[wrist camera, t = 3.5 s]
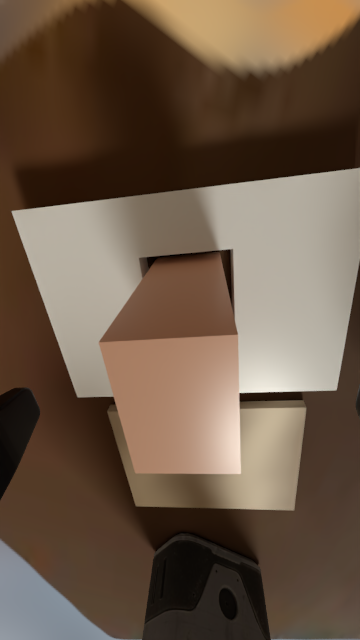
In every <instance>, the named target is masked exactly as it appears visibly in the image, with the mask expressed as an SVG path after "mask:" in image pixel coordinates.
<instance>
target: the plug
mask: <svg viewBox="0 0 360 640" xmlns="http://www.w3.org/2000/svg"><path fill="white" fill-rule="evenodd" d="M99 346H100V349H101V353H102V356H103V360H104V364H105V367H106V371H107V374H108V378H109V381H110V385H111V389H112V392H113V396H114V399H115V403H116V406H117V410H118V414H119V417H120V421H121V424H122V428H123V431H124V435H125V439H126V442H127V446H128V449H129V453H130V456H131V460H132V464H133V467H134V471H135V473H152V474H241V455H240V406H239V357H238V332H237V328H236V323H235V319H234V314H233V310H232V305H231V301H230V296H229V292H228V288H227V283H226V279H225V274H224V270H223V265H222V261H221V256H220V252H213V253H203V254H192V255H181V256H171V257H160V258H157V259H156V260H155V262H154V263H153V265H152V266H151V267H150V269H149V270H148V272H147V273H146V275H145V276H144V278H143V279H142V280H141V282H140V283H139V285H138V286H137V288H136V289H135V291H134V292H133V293H132V295H131V296H130V298H129V299H128V301H127V302H126V304H125V305H124V306H123V308H122V309H121V311H120V312H119V314H118V315H117V316H116V318H115V319H114V321H113V322H112V324H111V325H110V327H109V328H108V329H107V331H106V332H105V334H104V335H103V337H102V338H101V340H100V341H99Z"/></svg>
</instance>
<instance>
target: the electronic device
mask: <svg viewBox="0 0 360 640" xmlns="http://www.w3.org/2000/svg"><path fill="white" fill-rule="evenodd" d="M144 624H145V625H144V631H143V638H142V640H271V639H270V632H269V625H268V619H267V612H266V605H265V598H264V591H263V584H262V577H261V570H260V568H259V566H258V565H257V564H256V563H255V562H254V561H252V560H250V559H248V558H246V557H244V556H241V555H239V554H237V553H234V552H232V551H230V550H228V549H225V548H223V547H221V546H218V545H216V544H214V543H211V542H209V541H207V540H205V539H202V538H200V537H198V536H195V535H192V534H187V533H181V534H177V535H176V536H174V537H173V538H171V539H170V540H169V541H168V542H167V543H165V544H164V545H163V546H162V547H160V548H159V549H158V550H157V551H156V552H155V554H154V559H153V566H152V573H151V580H150V588H149V595H148V602H147V609H146V616H145V623H144Z"/></svg>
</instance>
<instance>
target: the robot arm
mask: <svg viewBox="0 0 360 640" xmlns="http://www.w3.org/2000/svg"><path fill="white" fill-rule="evenodd" d="M356 410H357V413H358V416H359V418H360V385H359V390H358V394H357V399H356ZM39 415H40V408H39V406H38V404H37V401H36V399H35V397H34V394H33V392H32V390H31V389H29V388H14V389H11V390H10V391H8V392H6V393H4V394H2V395H0V500H1V498H2V496H3V494H4V492H5V490H6V489H7V487H8V485H9V483H10V481H11V479H12V477H13V475H14V473H15V471H16V469H17V467H18V465H19V463H20V461H21V458H22V456H23V454H24V451H25V449H26V447H27V444H28V442H29V440H30V437H31V435H32V433H33V430H34V428H35V426H36V423H37V421H38V419H39Z"/></svg>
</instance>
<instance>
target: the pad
mask: <svg viewBox="0 0 360 640" xmlns="http://www.w3.org/2000/svg"><path fill="white" fill-rule="evenodd" d="M239 406H240V455H241V474H152V473H135V471H134V467H133V464H132V460H131V456H130V453H129V449H128V446H127V442H126V439H125V435H124V431H123V428H122V424H121V421H120V417H119V414H118V410H117V406H116V405H110V406H109V409H108V411H107V412H108V416H109V419H110V422H111V426H112V429H113V432H114V436H115V439H116V442H117V446H118V449H119V452H120V455H121V459H122V462H123V465H124V469H125V472H126V475H127V479H128V482H129V485H130V489H131V492H132V495H133V498H134V502H135V505H136V506H143V507H182V508H222V509H261V510H294V506H295V498H296V490H297V481H298V473H299V465H300V457H301V448H302V440H303V432H304V423H305V415H306V405H305V403H304V401H303V400H288V401H246V402H239Z"/></svg>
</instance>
